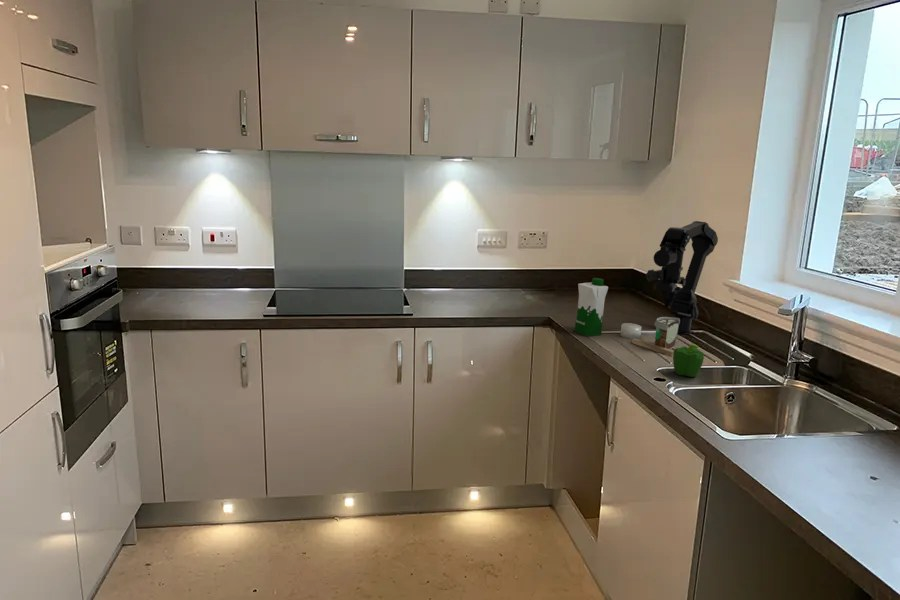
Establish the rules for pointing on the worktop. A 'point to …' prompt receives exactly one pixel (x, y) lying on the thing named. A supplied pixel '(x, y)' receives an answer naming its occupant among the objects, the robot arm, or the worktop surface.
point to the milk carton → (590, 307)
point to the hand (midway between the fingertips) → (667, 307)
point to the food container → (666, 331)
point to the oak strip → (652, 347)
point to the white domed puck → (630, 330)
